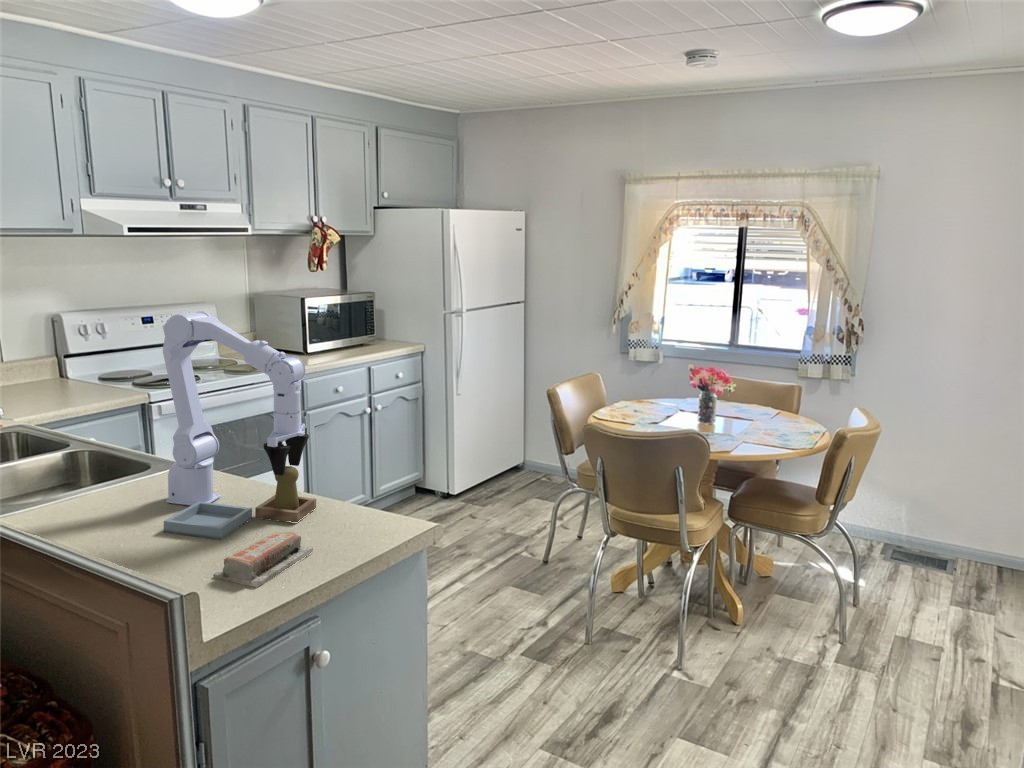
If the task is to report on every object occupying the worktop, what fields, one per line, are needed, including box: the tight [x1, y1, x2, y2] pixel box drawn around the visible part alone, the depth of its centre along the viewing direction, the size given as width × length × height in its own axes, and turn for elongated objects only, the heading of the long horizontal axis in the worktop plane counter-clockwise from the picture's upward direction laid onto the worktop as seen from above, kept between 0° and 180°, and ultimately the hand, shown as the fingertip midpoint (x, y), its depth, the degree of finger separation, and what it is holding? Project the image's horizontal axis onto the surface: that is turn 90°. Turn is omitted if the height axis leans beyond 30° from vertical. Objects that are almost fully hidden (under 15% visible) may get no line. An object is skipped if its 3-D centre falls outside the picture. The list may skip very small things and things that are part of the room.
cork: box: [274, 465, 299, 511], centre depth 179 cm, size 6×6×11 cm
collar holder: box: [254, 494, 317, 522], centre depth 180 cm, size 10×10×2 cm
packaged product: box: [213, 531, 314, 588], centre depth 152 cm, size 18×5×10 cm
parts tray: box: [163, 501, 253, 541], centre depth 170 cm, size 13×13×2 cm
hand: (286, 469), depth 178 cm, fingers open, 7 cm apart
